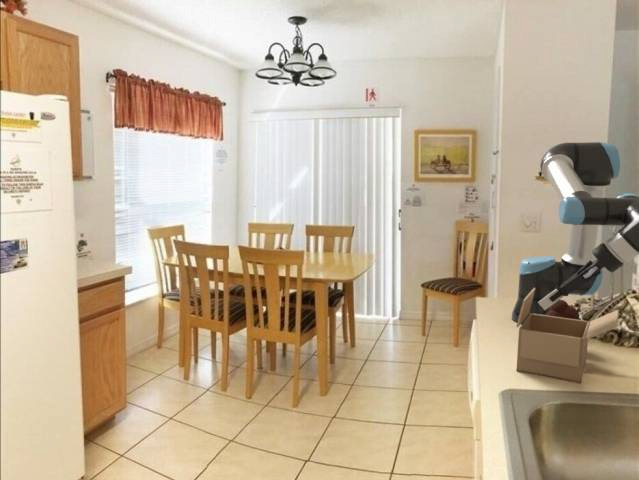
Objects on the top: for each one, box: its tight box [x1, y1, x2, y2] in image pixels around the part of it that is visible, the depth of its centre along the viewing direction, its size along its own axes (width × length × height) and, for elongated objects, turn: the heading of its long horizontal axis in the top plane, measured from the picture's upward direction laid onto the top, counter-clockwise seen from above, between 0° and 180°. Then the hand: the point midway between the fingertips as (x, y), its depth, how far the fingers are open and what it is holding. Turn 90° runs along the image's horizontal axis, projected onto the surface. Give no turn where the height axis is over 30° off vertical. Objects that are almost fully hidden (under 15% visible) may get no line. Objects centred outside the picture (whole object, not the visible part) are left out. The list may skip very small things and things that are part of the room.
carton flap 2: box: [586, 309, 620, 340], centre depth 144 cm, size 18×8×1 cm
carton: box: [516, 314, 590, 384], centre depth 151 cm, size 19×16×12 cm
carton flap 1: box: [515, 288, 536, 328], centre depth 153 cm, size 18×8×1 cm
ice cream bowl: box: [546, 299, 582, 320], centre depth 167 cm, size 11×11×15 cm
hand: (541, 305), depth 151 cm, fingers closed
